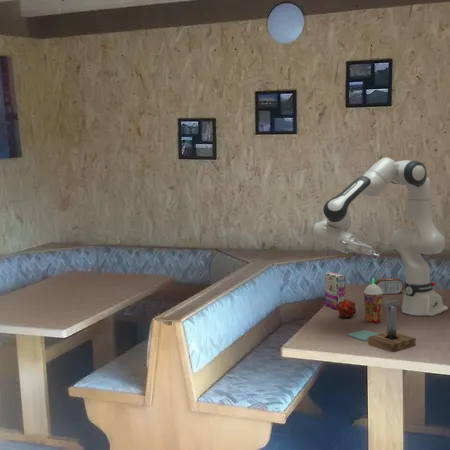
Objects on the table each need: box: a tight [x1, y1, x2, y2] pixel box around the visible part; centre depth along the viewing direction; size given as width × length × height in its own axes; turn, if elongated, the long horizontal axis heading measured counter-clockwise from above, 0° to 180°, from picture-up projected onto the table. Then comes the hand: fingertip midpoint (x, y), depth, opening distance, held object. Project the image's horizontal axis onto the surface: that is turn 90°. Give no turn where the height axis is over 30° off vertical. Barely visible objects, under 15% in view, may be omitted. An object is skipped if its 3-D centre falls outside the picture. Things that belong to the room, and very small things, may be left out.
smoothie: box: [363, 277, 384, 324], centre depth 296 cm, size 8×8×20 cm
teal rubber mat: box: [346, 329, 378, 342], centre depth 278 cm, size 10×10×1 cm
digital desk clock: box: [374, 277, 404, 296], centre depth 346 cm, size 15×3×8 cm, turn 93°
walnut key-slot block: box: [367, 331, 417, 353], centre depth 265 cm, size 13×13×3 cm
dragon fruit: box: [336, 298, 357, 319], centre depth 307 cm, size 8×8×12 cm
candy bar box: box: [324, 271, 346, 310], centre depth 324 cm, size 11×5×16 cm, turn 23°
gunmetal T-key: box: [383, 299, 400, 340], centre depth 264 cm, size 7×4×18 cm, turn 124°
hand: (375, 254), depth 277 cm, fingers open, 8 cm apart
